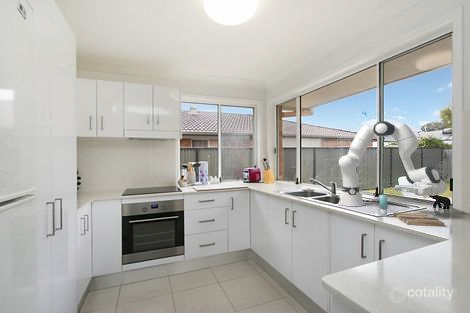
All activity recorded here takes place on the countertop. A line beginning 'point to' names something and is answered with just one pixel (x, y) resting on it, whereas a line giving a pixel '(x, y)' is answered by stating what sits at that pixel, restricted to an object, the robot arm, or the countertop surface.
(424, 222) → the board
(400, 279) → the countertop surface
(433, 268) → the countertop surface
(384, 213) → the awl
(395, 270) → the countertop surface
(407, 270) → the countertop surface
